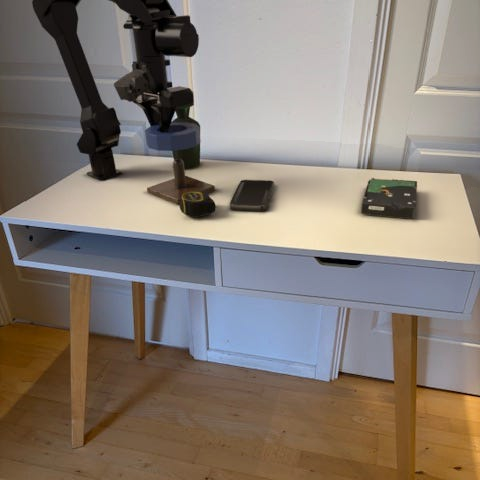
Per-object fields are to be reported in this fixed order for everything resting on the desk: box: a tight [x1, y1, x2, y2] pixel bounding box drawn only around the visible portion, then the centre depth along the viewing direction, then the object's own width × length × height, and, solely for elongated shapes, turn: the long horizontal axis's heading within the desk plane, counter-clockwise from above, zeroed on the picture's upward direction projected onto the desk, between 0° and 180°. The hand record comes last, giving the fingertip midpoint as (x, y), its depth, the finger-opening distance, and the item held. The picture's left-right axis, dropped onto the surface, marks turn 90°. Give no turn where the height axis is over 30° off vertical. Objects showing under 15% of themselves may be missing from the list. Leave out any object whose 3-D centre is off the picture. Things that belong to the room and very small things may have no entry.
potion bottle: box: [171, 102, 201, 170], centre depth 122 cm, size 8×8×18 cm
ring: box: [144, 122, 202, 152], centre depth 105 cm, size 11×11×3 cm
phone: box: [229, 179, 275, 212], centre depth 108 cm, size 8×1×15 cm
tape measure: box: [178, 191, 217, 218], centre depth 101 cm, size 7×7×4 cm
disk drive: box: [360, 177, 418, 219], centre depth 102 cm, size 10×3×15 cm
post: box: [146, 159, 216, 206], centre depth 110 cm, size 11×11×8 cm
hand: (160, 135), depth 108 cm, fingers closed on ring, 2 cm apart
